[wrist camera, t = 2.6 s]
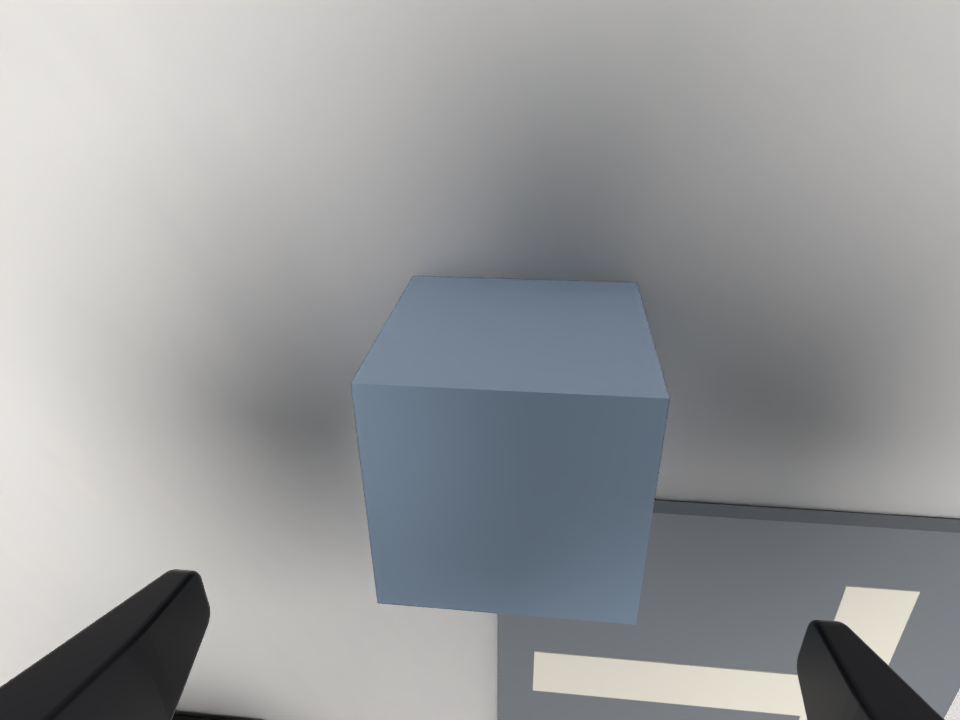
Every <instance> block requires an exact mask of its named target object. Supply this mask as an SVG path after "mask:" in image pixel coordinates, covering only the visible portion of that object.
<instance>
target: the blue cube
mask: <svg viewBox="0 0 960 720" xmlns="http://www.w3.org/2000/svg"><path fill="white" fill-rule="evenodd" d="M351 389H352V397H353V406H354V414H355V422H356V430H357V438H358V447H359V455H360V463H361V471H362V479H363V488H364V496H365V504H366V512H367V520H368V529H369V537H370V545H371V553H372V561H373V570H374V578H375V586H376V594H377V602H378V603H382V604H394V605H406V606H417V607H429V608H441V609H453V610H465V611H477V612H489V613H501V614H513V615H525V616H536V617H548V618H560V619H572V620H584V621H596V622H608V623H620V624H632V625H636V621H637V615H638V608H639V601H640V594H641V588H642V581H643V574H644V567H645V561H646V554H647V547H648V540H649V534H650V527H651V520H652V513H653V507H654V500H655V493H656V486H657V479H658V473H659V466H660V459H661V452H662V446H663V439H664V432H665V425H666V419H667V412H668V405H669V395H668V392H667V388H666V385H665V381H664V377H663V374H662V370H661V367H660V363H659V360H658V356H657V353H656V349H655V346H654V342H653V338H652V335H651V331H650V328H649V324H648V321H647V317H646V314H645V310H644V307H643V303H642V299H641V296H640V292H639V289H638V285H637V282H607V281H572V280H538V279H504V278H469V277H435V276H413V277H412V279H411V280H410V282H409V284H408V286H407V287H406V289H405V291H404V292H403V294H402V296H401V298H400V299H399V301H398V303H397V305H396V306H395V308H394V310H393V311H392V313H391V315H390V317H389V318H388V320H387V322H386V324H385V325H384V327H383V329H382V330H381V332H380V334H379V336H378V337H377V339H376V341H375V343H374V344H373V346H372V348H371V349H370V351H369V353H368V355H367V356H366V358H365V360H364V361H363V363H362V365H361V367H360V368H359V370H358V372H357V374H356V375H355V377H354V379H353V380H352V382H351Z"/></svg>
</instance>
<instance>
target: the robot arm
mask: <svg viewBox="0 0 960 720" xmlns="http://www.w3.org/2000/svg"><path fill="white" fill-rule="evenodd" d="M209 619H210V606H209V603H208V599H207V596H206V593H205V589H204V586H203V582H202V579H201V576H200V575H199V574H198V573H197V572H196V571H190V570H177V569H175V570H170V571H168V572H166V573H164V574H163V575H162V576H160V577H159V578H157V579H156V580H154V581H153V582H151V583H150V584H149V585H147V586H146V587H144V588H143V589H141V590H140V591H138V592H137V593H136V594H134V595H133V596H131V597H130V598H128V599H127V600H125V601H124V602H123V603H121V604H120V605H118V606H117V607H115V608H114V609H112V610H111V611H110V612H108V613H107V614H105V615H104V616H102V617H101V618H99V619H98V620H97V621H95V622H94V623H92V624H91V625H89V626H88V627H86V628H85V629H84V630H82V631H81V632H79V633H78V634H76V635H75V636H73V637H72V638H71V639H69V640H68V641H66V642H65V643H63V644H62V645H60V646H59V647H58V648H56V649H55V650H53V651H52V652H50V653H49V654H47V655H46V656H45V657H43V658H42V659H40V660H39V661H37V662H36V663H34V664H33V665H32V666H30V667H29V668H27V669H26V670H24V671H23V672H21V673H20V674H19V675H17V676H16V677H14V678H13V679H11V680H10V681H8V682H7V683H6V684H4V685H3V686H1V687H0V720H213V719H204V718H194V717H185V716H175V715H174V713H175V711H176V708H177V706H178V703H179V700H180V698H181V695H182V692H183V690H184V687H185V684H186V682H187V679H188V676H189V674H190V671H191V668H192V666H193V663H194V660H195V658H196V655H197V653H198V650H199V647H200V645H201V642H202V639H203V637H204V634H205V631H206V629H207V626H208V623H209ZM797 674H798V680H799V684H800V689H801V693H802V698H803V703H804V707H805V712H806V716H807V720H945V719H944V718H943V717H942V716H941V715H939V714H938V713H937V712H936V711H935V710H934V709H933V708H932V707H931V706H930V705H929V704H928V703H927V702H926V701H925V700H924V699H923V698H922V697H921V696H920V695H919V694H918V693H917V692H916V691H915V690H914V689H913V688H911V687H910V686H909V685H908V684H907V683H906V682H905V681H904V680H903V679H902V678H901V677H900V676H899V675H898V674H897V673H896V672H895V671H894V670H893V669H892V668H891V667H890V666H889V665H888V664H887V663H886V662H885V661H883V660H882V659H881V658H880V657H879V656H878V655H877V654H876V653H875V652H874V651H873V650H872V649H871V648H870V647H869V646H868V645H867V644H866V643H865V642H864V641H863V640H862V639H861V638H860V637H859V636H858V635H856V634H855V633H854V632H853V631H852V630H851V629H850V628H849V627H848V626H847V625H845V624H844V623H842V622H838V621H828V620H812V621H811V622H810V623H809V625H808V627H807V630H806V633H805V636H804V639H803V642H802V645H801V648H800V651H799V654H798V658H797Z"/></svg>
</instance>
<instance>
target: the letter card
mask: <svg viewBox="0 0 960 720" xmlns="http://www.w3.org/2000/svg"><path fill="white" fill-rule="evenodd" d="M812 620H828V621H838V622H842V623H844V624H845V625H847V626H848V627H849V628H850V629H851V630H852V631H853V632H854V633H855V634H856V635H858V636H859V637H860V638H861V639H862V640H863V641H864V642H865V643H866V644H867V645H868V646H869V647H870V648H871V649H872V650H873V651H874V652H875V653H876V654H877V655H878V656H879V657H880V658H881V659H882V660H883V661H885V662H886V663H887V664H888V665H889V666H890V667H891V668H892V669H893V670H894V671H895V672H896V673H897V674H898V675H899V676H900V677H901V678H902V679H903V680H904V681H905V682H906V683H907V684H908V685H909V686H910V687H911V688H913V689H914V690H915V691H916V692H917V693H918V694H919V695H920V696H921V697H922V698H923V699H924V700H925V701H926V702H927V703H928V704H929V705H930V706H931V707H932V708H933V709H934V710H935V711H936V712H937V713H938V714H939V715H941V716H942V717H943V718H944V717H945V715H946V713H947V711H948V709H949V708H950V706H951V704H952V702H953V700H954V698H955V696H956V694H957V692H958V690H959V688H960V520H959V519H944V518H928V517H912V516H896V515H880V514H865V513H849V512H833V511H817V510H801V509H786V508H770V507H754V506H738V505H723V504H707V503H691V502H675V501H659V500H654V507H653V513H652V520H651V527H650V534H649V540H648V547H647V554H646V561H645V567H644V574H643V581H642V588H641V594H640V601H639V608H638V615H637V621H636V625H632V624H620V623H608V622H596V621H584V620H572V619H560V618H548V617H536V616H525V615H513V614H501V613H498V720H807V716H806V712H805V707H804V703H803V698H802V693H801V689H800V684H799V680H798V674H797V658H798V654H799V651H800V648H801V645H802V642H803V639H804V636H805V633H806V630H807V627H808V625H809V623H810V622H811V621H812Z"/></svg>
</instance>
